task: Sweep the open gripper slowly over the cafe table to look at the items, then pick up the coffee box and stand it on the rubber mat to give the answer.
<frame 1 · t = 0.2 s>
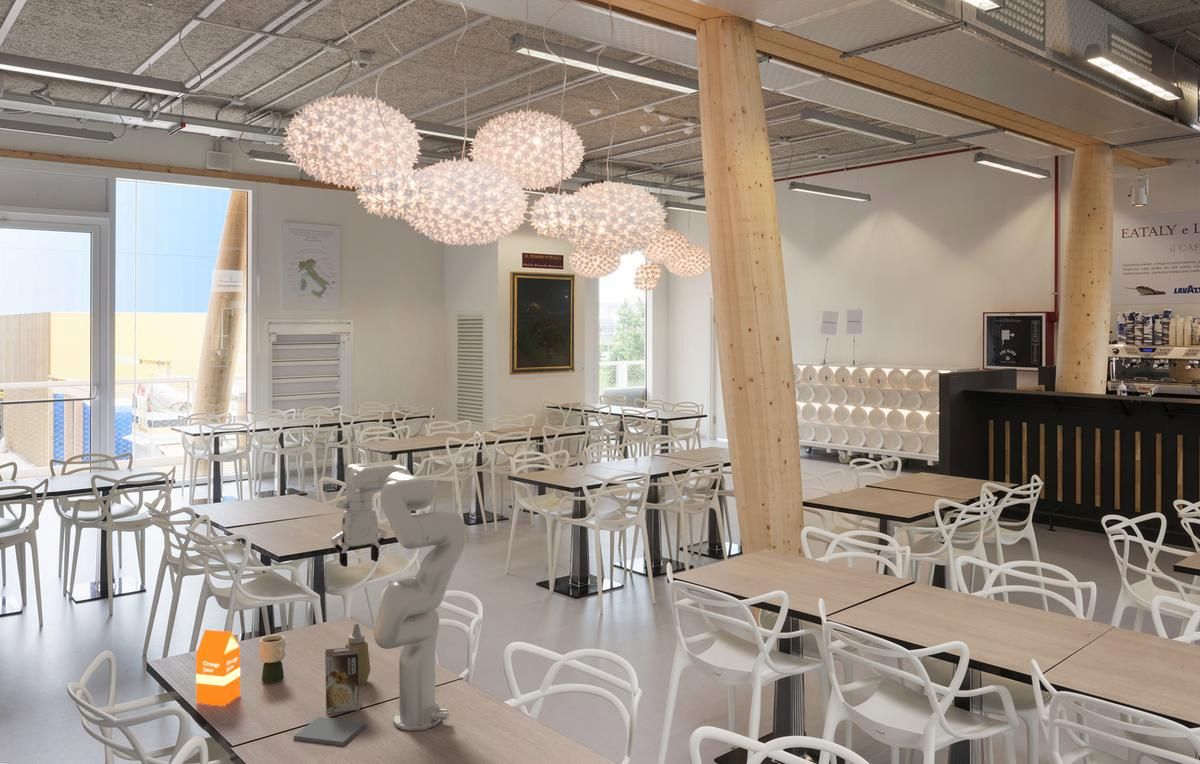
hand: (359, 563, 258), 37 cm above the table, tool pointing down, fingers open, 9 cm apart
coffee box: (342, 708, 245), on the table
character mug: (272, 681, 263), on the table
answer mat: (330, 732, 229), on the table
squeeze bottle: (356, 683, 262), on the table
orange juice: (218, 700, 249), on the table
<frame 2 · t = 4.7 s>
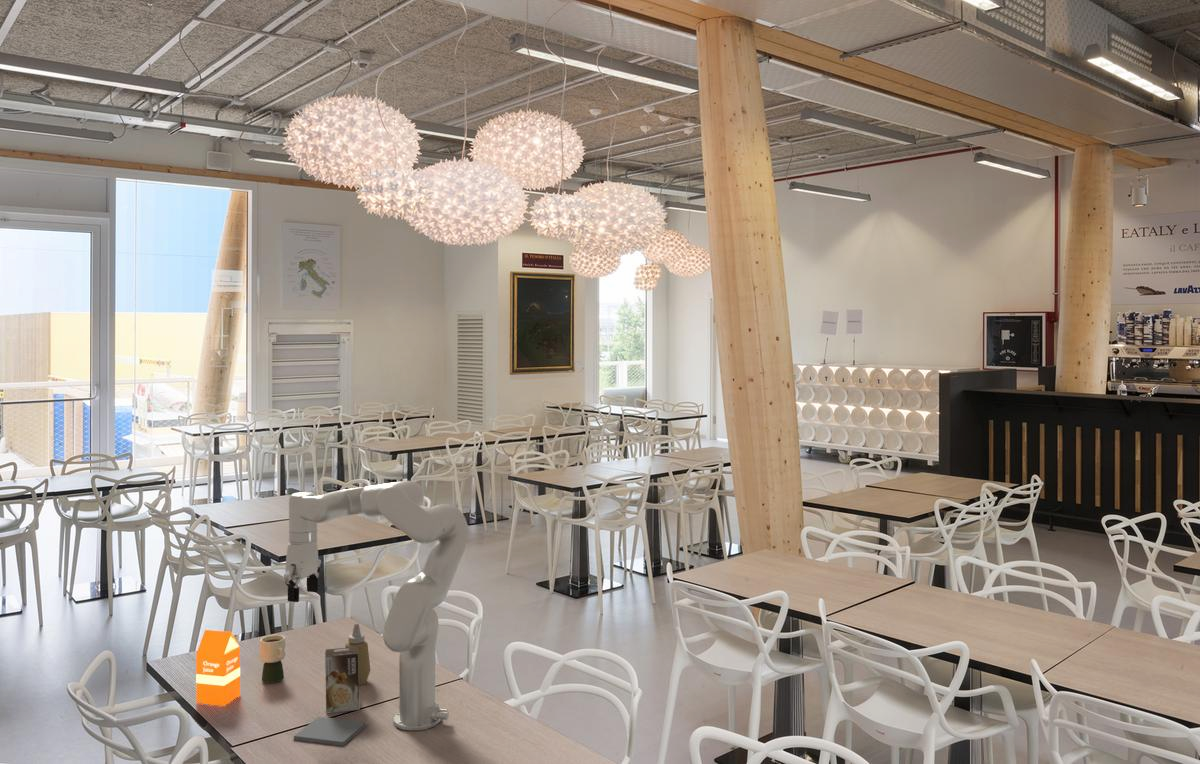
hand: (303, 596, 246), 31 cm above the table, tool pointing down, fingers open, 9 cm apart
nothing on the table moved.
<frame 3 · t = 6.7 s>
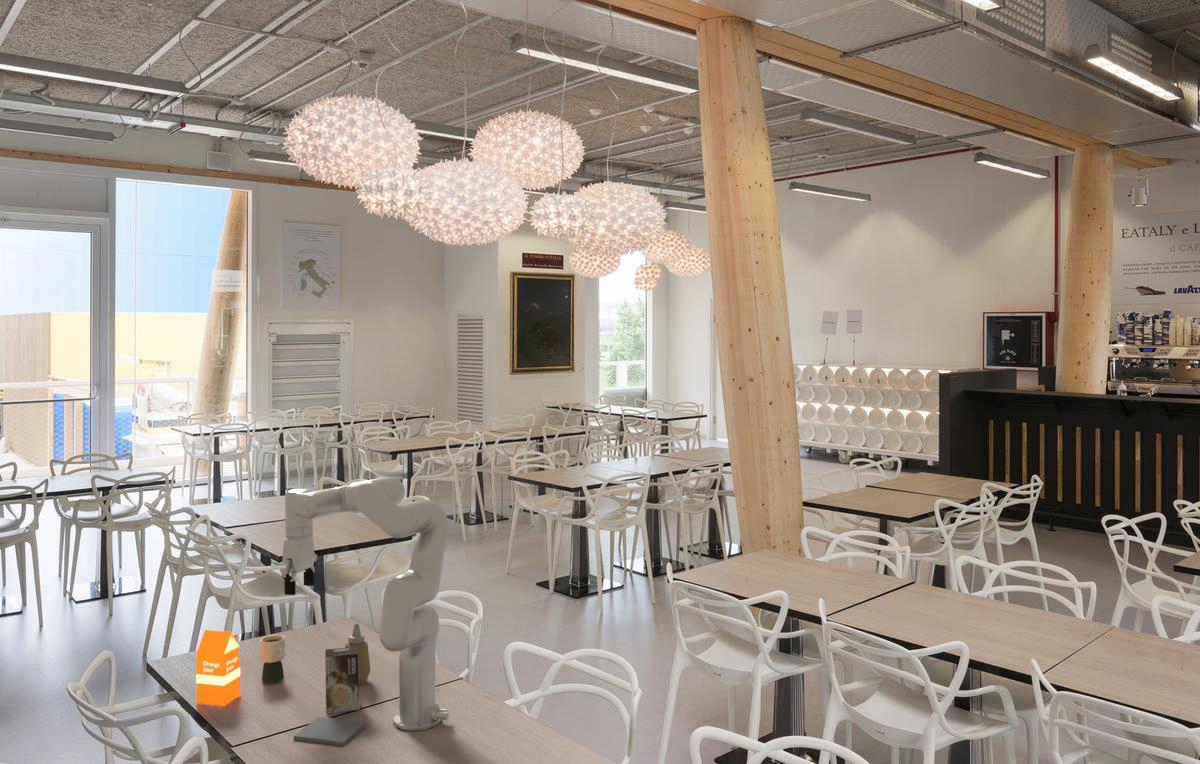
hand: (299, 590, 254), 30 cm above the table, tool pointing down, fingers open, 9 cm apart
nothing on the table moved.
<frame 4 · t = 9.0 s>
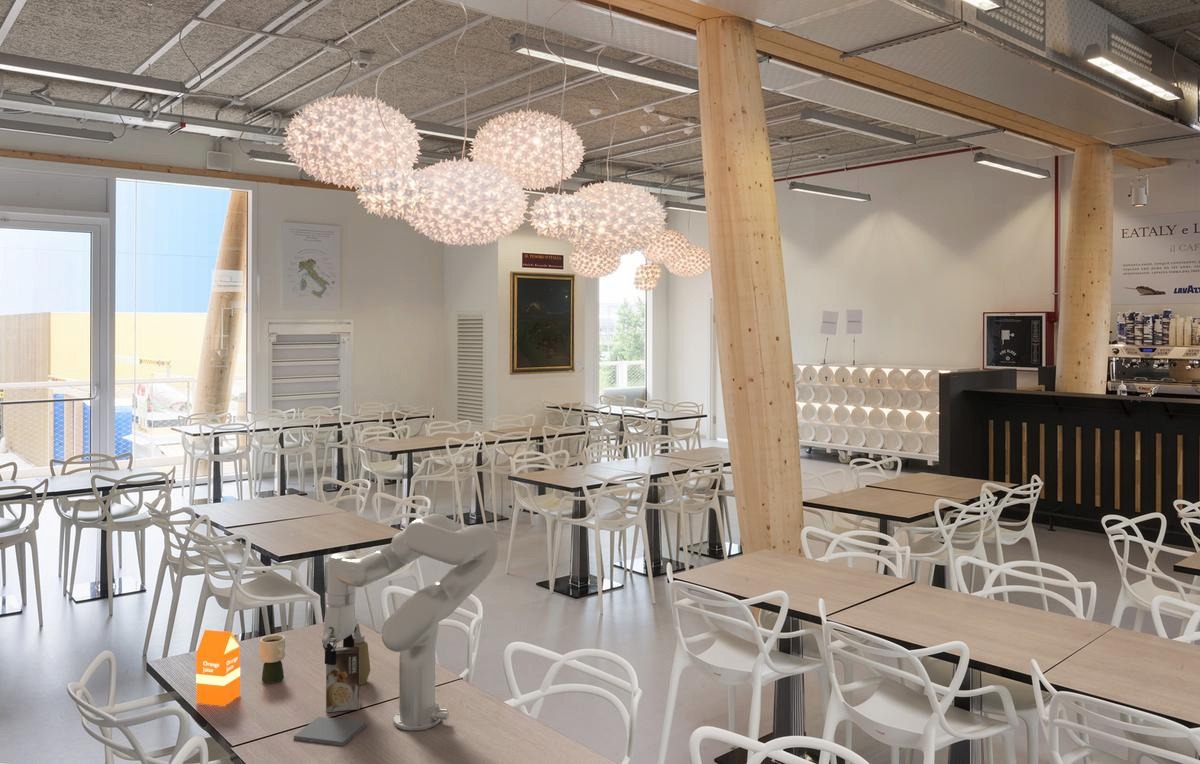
hand: (339, 658, 244), 14 cm above the table, tool pointing down, fingers open, 9 cm apart
nothing on the table moved.
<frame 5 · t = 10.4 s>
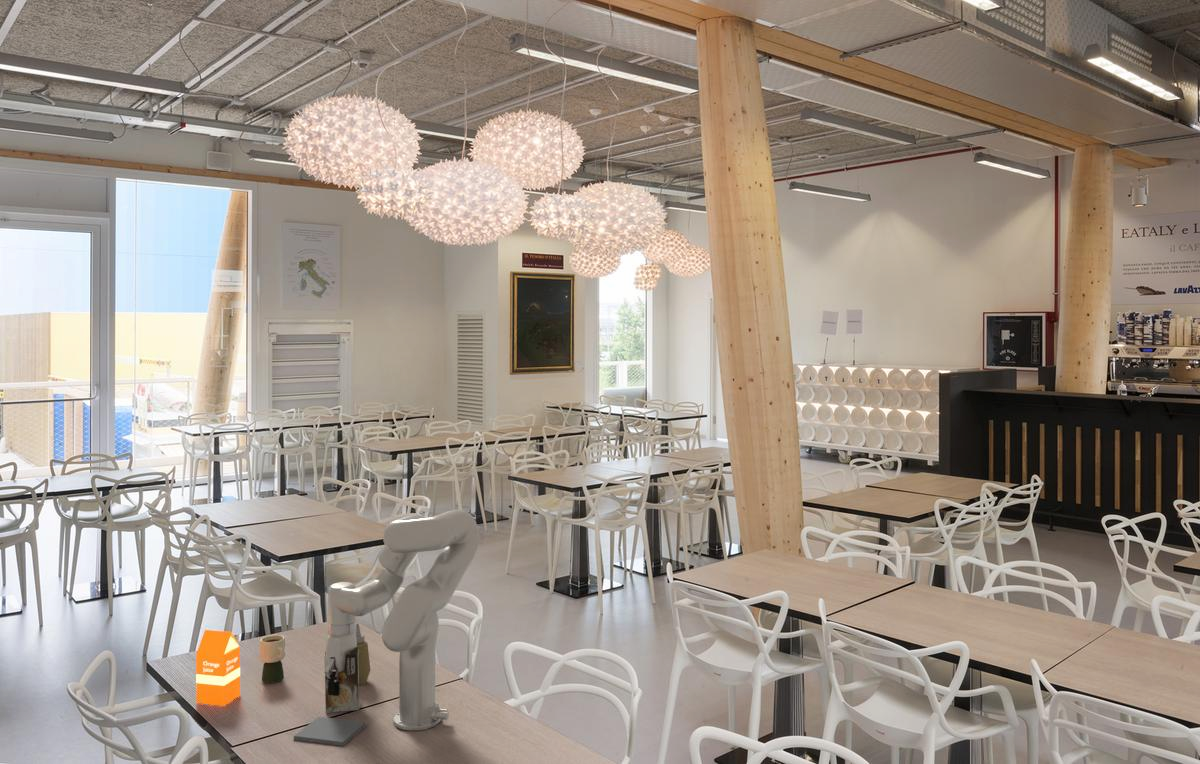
hand: (342, 688, 244), 5 cm above the table, tool pointing down, fingers closed on coffee box, 8 cm apart
coffee box: (342, 708, 245), on the table, touching gripper
everything else where it was.
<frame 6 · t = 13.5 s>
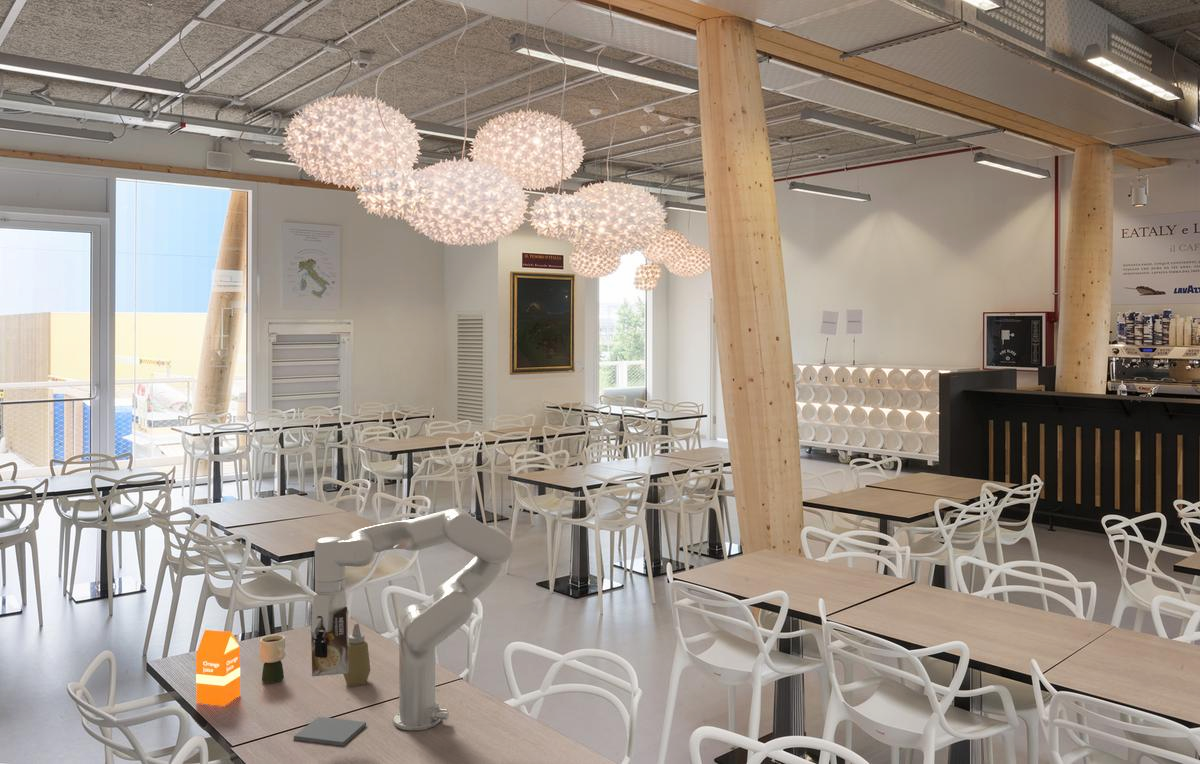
hand: (330, 650, 228), 22 cm above the table, tool pointing down, fingers closed on coffee box, 8 cm apart
coffee box: (330, 671, 228), point 16 cm above the table, touching gripper
everything else where it was.
when the fingers open (8 cm above the table, at t = 17.1 s): coffee box drops 1 cm, resting on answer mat.
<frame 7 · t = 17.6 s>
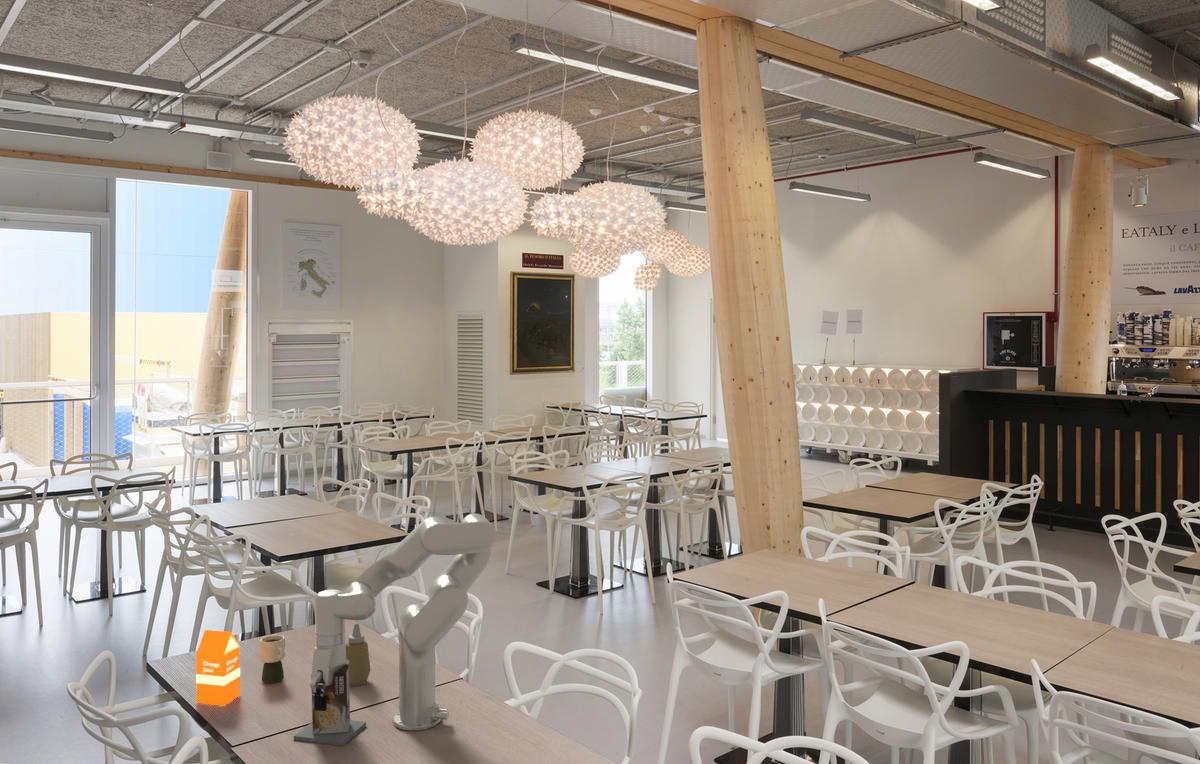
hand: (330, 702, 228), 8 cm above the table, tool pointing down, fingers open, 9 cm apart
coffee box: (331, 729, 229), point 1 cm above the table, touching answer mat
everything else where it was.
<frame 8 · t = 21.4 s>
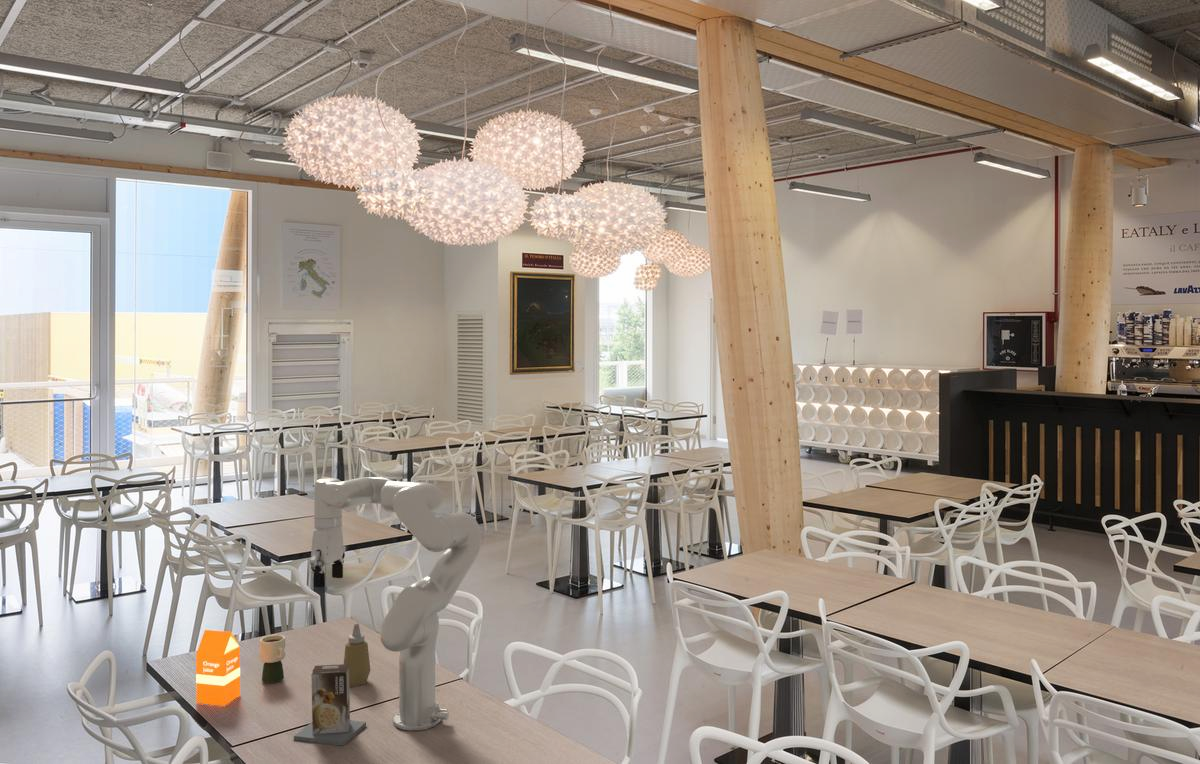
hand: (328, 582, 247), 34 cm above the table, tool pointing down, fingers open, 9 cm apart
nothing on the table moved.
at the end: coffee box inside the target area on the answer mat (0.2 cm from its centre), point 0.8 cm above the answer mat's base; coffee box tilted 0°; the gripper is holding nothing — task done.
